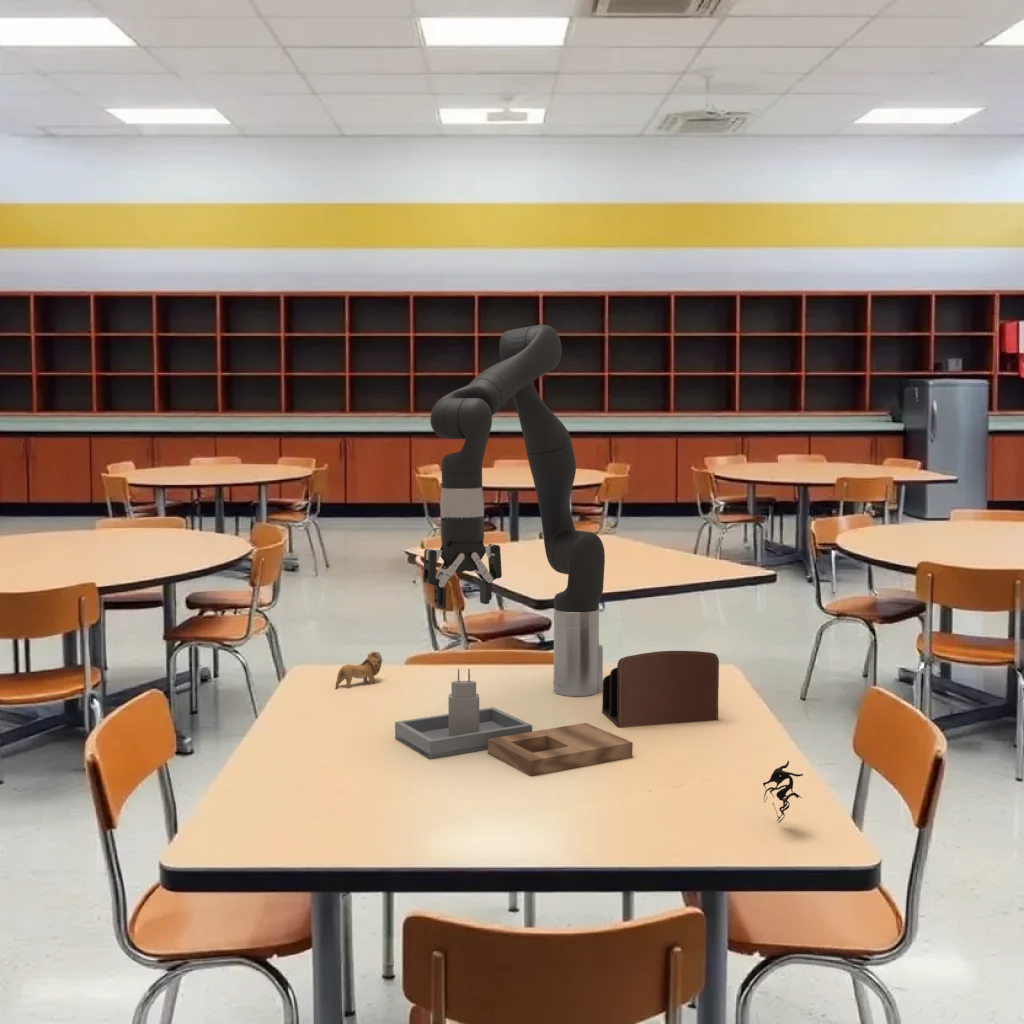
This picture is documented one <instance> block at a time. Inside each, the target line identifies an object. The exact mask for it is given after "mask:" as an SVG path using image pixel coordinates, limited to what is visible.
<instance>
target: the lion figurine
mask: <svg viewBox="0 0 1024 1024" xmlns="http://www.w3.org/2000/svg"><path fill="white" fill-rule="evenodd" d="M382 662H383V657H382V655H381V653H380V652H378V651H371V652H369V653H368V654H367V657H366V658H365V660H364V661H363V662H361V664H349V663H348V664H345V665H343V666H342V667H340V669H338V670H339V671H338V673H337V677H336V681H335V687H334V690H335V689H337V690H338V689H339V686H340V684H341V683H342V682H343V681H346V682H345V683H346V684H345V686H346V688H347V689H351V688H352V687H351V683H352V681H353V678H354V679H359V680H360V679H362V680H363V684H367V683H369V684H368V685H374V680H375V676H377V675H378V674H379V673H380V672H381V671H380V670H381V668H382ZM368 680H369V682H368Z"/></svg>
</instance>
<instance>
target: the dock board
mask: <svg viewBox="0 0 1024 1024" xmlns="http://www.w3.org/2000/svg"><path fill="white" fill-rule="evenodd" d="M487 754H488V755H491V756H492V757H494V758H496V759H498V760H500V761H502V762H504V763H505V764H507V765H509V766H511V767H513V768H515V769H517V770H518V771H519V772H522V773H524V774H526V775H528V776H529V777H533V776H538V775H543V774H549V773H555V772H559V771H565V770H570V769H575V768H580V767H581V768H582V767H586V766H593V765H597V764H603V763H607V762H608V763H609V762H613V761H617V760H624V759H628V758H629V759H630V758H633V741H630V740H628V739H626V738H623V737H621V736H618V735H616V734H613V733H611V732H609V731H607V730H605V729H602V728H599V727H597V726H594V725H592V724H590V723H587V722H582V723H576V724H571V725H565V726H558V727H552V728H546V729H541V730H539V729H538V730H532V732H527V733H521V734H515V735H509V736H503V737H496V738H490V739H488V749H487Z"/></svg>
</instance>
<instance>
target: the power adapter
mask: <svg viewBox="0 0 1024 1024" xmlns="http://www.w3.org/2000/svg"><path fill="white" fill-rule="evenodd" d="M467 669H468V670H467V671H468V673H467V680H460V668H457V680H454V681H451V683H450V684H451V686H450V687H451V689H450V690H451V693H448V699H447V701H448V705H447V706H448V713H447V714H449V737H450V736H456V735H462V734H468V733H475V732H479V709H480V694H479V693H477V681H474V680H471V671H470V670H471V669H470V668H467Z"/></svg>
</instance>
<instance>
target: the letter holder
mask: <svg viewBox="0 0 1024 1024" xmlns="http://www.w3.org/2000/svg"><path fill="white" fill-rule="evenodd" d="M719 677H720V659H719V657H718V655H717V654H716V653H714V652H707V651H700V650H697V651H696V650H659V651H651V652H644V653H638V654H633V655H629V656H623V657H621V658H619V660H618V661H617V666H616V667H614V668H613V669H611V671H610V673H609V674H608V675H606V676H605V677H604V678H603V691H602V705H601V706H602V710H601V714H603V716H605V717H606V718H607V719H608V720H609V721H610V722H611V723H612V724H613V725H615V726H616V727H617V728H620V729H621V728H635V727H647V726H649V727H650V726H662V725H673V724H675V725H677V724H687V723H688V724H689V723H700V722H701V723H702V722H716V721H719V687H720V685H719V681H720V680H719V679H720V678H719Z"/></svg>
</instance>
